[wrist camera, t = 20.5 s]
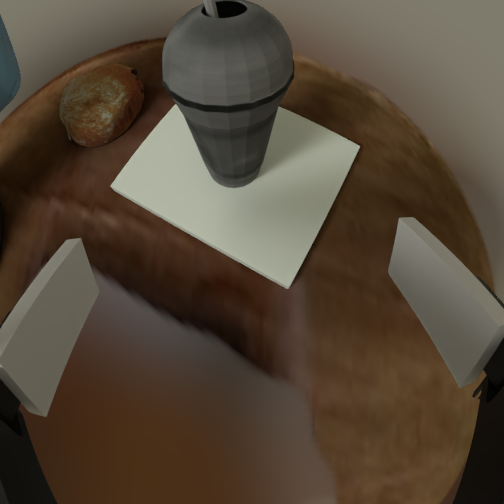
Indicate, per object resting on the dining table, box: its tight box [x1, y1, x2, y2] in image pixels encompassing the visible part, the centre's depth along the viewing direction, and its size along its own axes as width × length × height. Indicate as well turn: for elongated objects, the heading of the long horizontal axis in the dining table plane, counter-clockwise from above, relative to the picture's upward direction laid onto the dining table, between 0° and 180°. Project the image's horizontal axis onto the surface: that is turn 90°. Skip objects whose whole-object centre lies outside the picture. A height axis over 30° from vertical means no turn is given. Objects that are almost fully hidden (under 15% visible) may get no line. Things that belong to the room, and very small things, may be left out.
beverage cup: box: [162, 0, 294, 188], centre depth 15 cm, size 7×7×20 cm
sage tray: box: [111, 104, 360, 289], centre depth 26 cm, size 18×15×1 cm
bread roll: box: [59, 63, 144, 147], centre depth 26 cm, size 10×10×8 cm
